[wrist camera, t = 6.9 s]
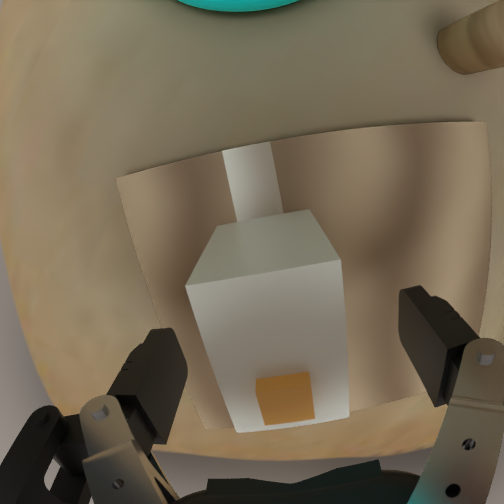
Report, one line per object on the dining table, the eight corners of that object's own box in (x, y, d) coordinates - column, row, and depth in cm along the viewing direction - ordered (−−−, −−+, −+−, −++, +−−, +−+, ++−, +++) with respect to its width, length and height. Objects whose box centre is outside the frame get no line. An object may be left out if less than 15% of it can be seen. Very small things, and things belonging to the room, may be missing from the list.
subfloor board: (473, 121, 13) (486, 121, 11) (461, 366, 18) (468, 376, 17) (126, 175, 14) (115, 178, 13) (208, 416, 19) (205, 429, 18)
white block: (309, 208, 13) (346, 268, 7) (324, 327, 15) (352, 429, 9) (217, 225, 14) (179, 296, 8) (245, 340, 16) (235, 445, 10)
